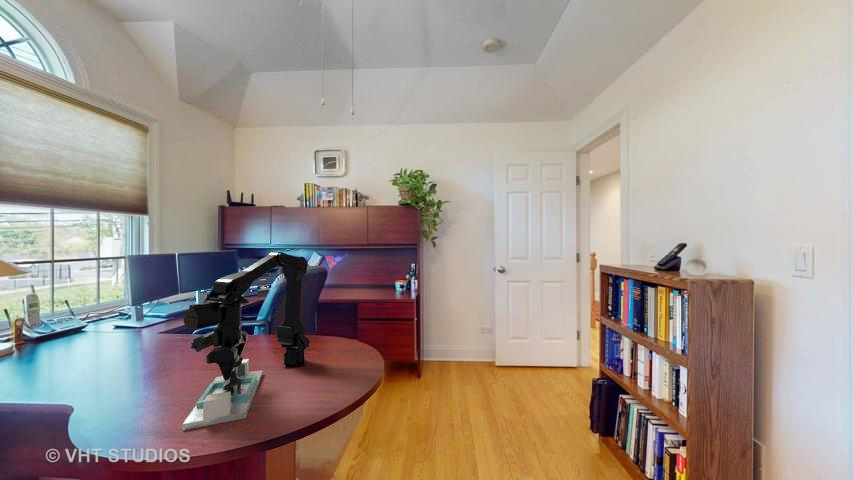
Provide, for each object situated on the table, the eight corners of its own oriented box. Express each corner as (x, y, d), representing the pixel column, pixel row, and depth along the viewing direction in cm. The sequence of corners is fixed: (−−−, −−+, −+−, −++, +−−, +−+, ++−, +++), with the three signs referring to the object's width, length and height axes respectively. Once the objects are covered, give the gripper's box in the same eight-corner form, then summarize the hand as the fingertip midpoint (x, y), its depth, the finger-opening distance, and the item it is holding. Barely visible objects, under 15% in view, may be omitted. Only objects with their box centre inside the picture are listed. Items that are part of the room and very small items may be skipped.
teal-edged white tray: (262, 374, 99) (262, 366, 99) (245, 418, 74) (245, 407, 74) (216, 381, 94) (216, 373, 94) (182, 430, 70) (182, 419, 70)
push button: (229, 399, 81) (230, 363, 81) (211, 397, 81) (212, 362, 81) (246, 387, 87) (247, 353, 88) (229, 386, 88) (230, 352, 88)
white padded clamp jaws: (248, 372, 98) (248, 358, 98) (227, 415, 73) (227, 397, 73) (231, 374, 96) (231, 361, 96) (203, 420, 71) (203, 401, 71)
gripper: (207, 316, 90) (207, 366, 90) (181, 334, 73) (181, 396, 73) (248, 313, 94) (248, 361, 94) (233, 329, 77) (233, 388, 77)
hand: (229, 375), depth 84 cm, fingers open, 6 cm apart
